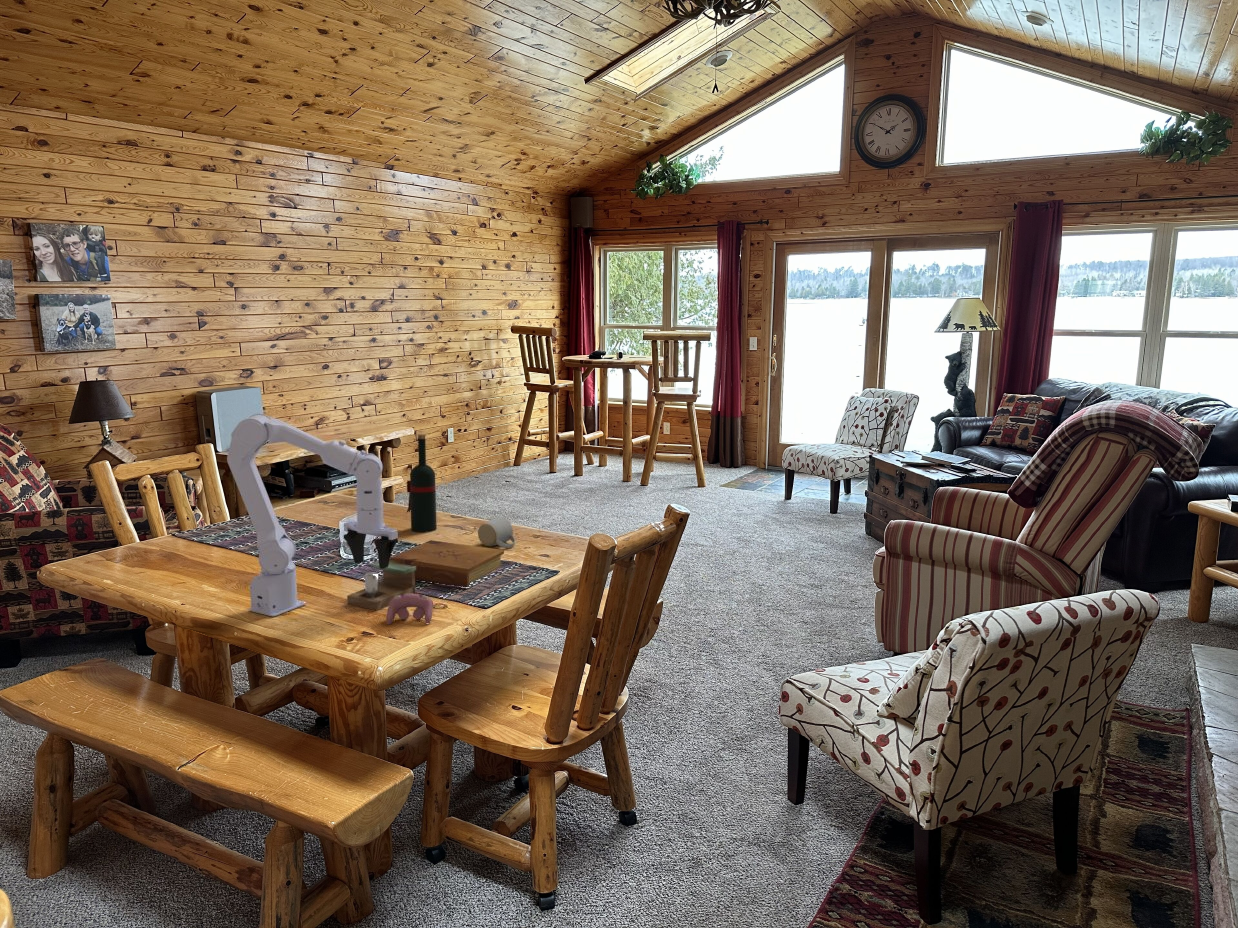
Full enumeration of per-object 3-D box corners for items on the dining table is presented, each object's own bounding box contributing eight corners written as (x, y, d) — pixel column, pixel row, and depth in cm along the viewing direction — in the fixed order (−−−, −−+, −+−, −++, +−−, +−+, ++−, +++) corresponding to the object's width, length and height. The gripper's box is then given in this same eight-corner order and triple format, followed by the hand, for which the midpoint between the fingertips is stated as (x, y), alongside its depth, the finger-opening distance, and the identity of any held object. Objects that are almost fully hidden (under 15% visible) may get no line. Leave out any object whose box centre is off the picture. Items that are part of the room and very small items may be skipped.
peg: (381, 602, 190) (381, 573, 189) (371, 605, 188) (370, 577, 186) (373, 599, 192) (372, 571, 190) (363, 603, 189) (362, 574, 188)
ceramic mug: (475, 545, 239) (475, 519, 237) (493, 538, 246) (493, 514, 244) (504, 551, 233) (504, 525, 232) (521, 545, 240) (522, 520, 239)
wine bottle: (415, 523, 261) (413, 431, 255) (441, 527, 257) (440, 434, 251) (399, 529, 254) (397, 434, 248) (426, 533, 250) (424, 437, 244)
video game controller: (433, 626, 181) (435, 594, 183) (430, 624, 176) (432, 591, 178) (388, 625, 180) (391, 594, 182) (384, 623, 176) (386, 591, 178)
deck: (378, 610, 184) (377, 581, 183) (345, 603, 189) (344, 574, 188) (416, 594, 196) (416, 566, 195) (384, 587, 200) (384, 560, 199)
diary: (389, 579, 208) (388, 558, 207) (431, 560, 225) (430, 540, 224) (467, 591, 200) (467, 569, 199) (504, 570, 217) (504, 549, 216)
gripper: (406, 508, 186) (407, 565, 188) (358, 500, 192) (360, 555, 195) (384, 514, 180) (386, 573, 182) (336, 506, 186) (338, 563, 189)
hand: (371, 564), depth 188 cm, fingers open, 7 cm apart
